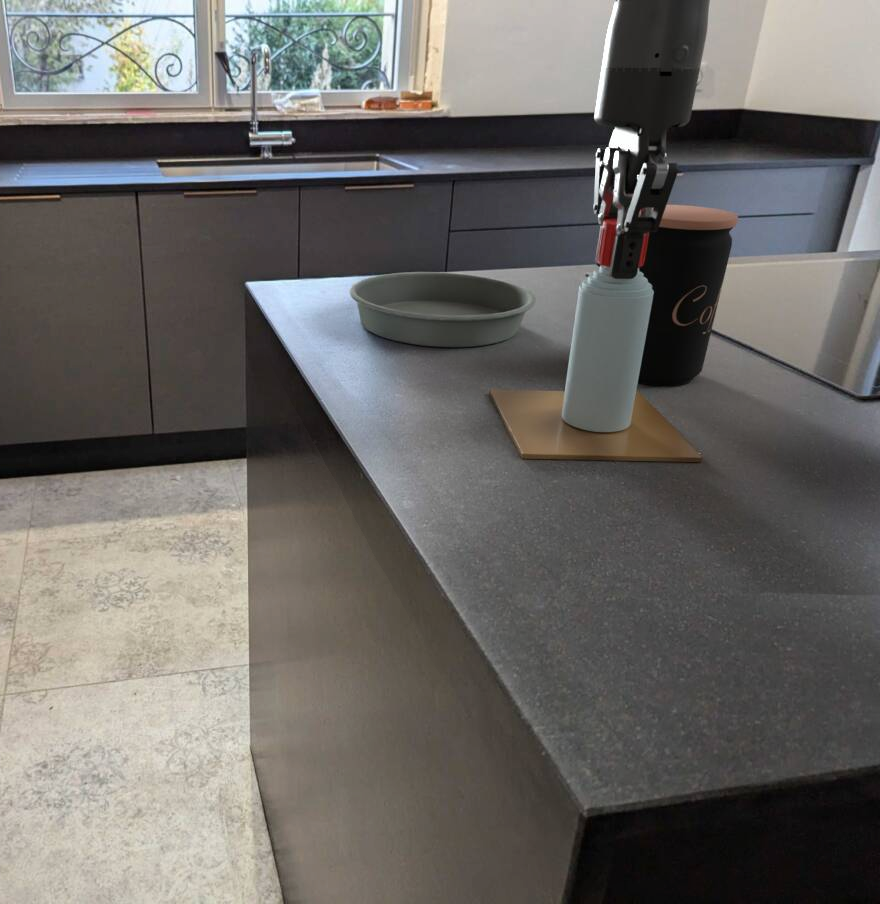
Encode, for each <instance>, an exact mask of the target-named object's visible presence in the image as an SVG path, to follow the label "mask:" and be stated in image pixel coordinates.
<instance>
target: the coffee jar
mask: <svg viewBox="0 0 880 904" xmlns="http://www.w3.org/2000/svg"><path fill="white" fill-rule="evenodd" d="M652 210H653V208H652ZM640 216H641V210H640V213H639V216H638V217H640ZM738 220H739V215H738V214H737V213H734V212H731V211H728V210H724V209H719V208H713V207H705V206H697V205H684V204H683V205H682V204H667V205H666V208H665V211H664V214H663V216H662V219H661V222H660V225H659V228H658V230H657V232H650V234H649V239H648V245H647V251H646V257H645V262H644V264H643V266H641V267H639V271H640V272H642V273H643V274H644V276H643V277H645V278H647V279H648V283H650V284H651V285H652V290H653V291H654V294H653V300H652V305H651V311H650V317H649V322H648V328H647V333H646V339H645V345H644V350H643V356H642V361H641V367H640V372H639V378H638V384H642V385H643V384H644V385H648V386H649V385H650V386H659V387H660V386H661V387H673V386H682V385H686V384H689V383H690V382H692V381H693V380H694V379H695V378H696V377H697V376H699V375H700V374H701V373H702V371H703V367H704V363H705V359H706V355H707V351H708V347H709V343H710V339H711V334H712V331H713V330H712V329H713V326H714V321H715V318H716V313H717V309H718V304H719V300H720V297H721V294H722V288H723V284H724V279H725V276H726V272H727V267H728V263H729V258H730V255H731V250H732V247H733V237H732V236H731V234H730V232H731V231H732V230H733V228H735V227H736V226H737V223H738Z"/></svg>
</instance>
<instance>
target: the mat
mask: <svg viewBox="0 0 880 904" xmlns="http://www.w3.org/2000/svg"><path fill="white" fill-rule="evenodd" d="M564 394H565V390H521V389H520V390H518V389H517V390H516V389H489V390H488V395H489V396H490V399H491V400H492V403H493V404H494V405H493V406H495V408H496V410H497V413H498V414H499V417H500V418H501V420H502V422H503V425H504V426H505V428H506V430H507V432H508V434H509V436H510V438H511V440H512V443H513V444H514V446H515V448H516V449H517V452H518V454H519V456H520V457H521V459H522V460H524V459H525V460H526V459H527V460H528V459H529V460H570V461H571V460H572V461H574V460H575V461H577V460H578V461H617V462H618V461H621V462H623V461H624V462H669V463H673V462H674V463H676V462H677V463H702V462H703V456H702V455H701V454H700V453H699V452H698V451H697V450H696V449H695V448H694V447H693V446H692V445H691V444H690V443H689V442H688V441H687V440H686V439H685V438H684V437H683V435H682V434H680V433H679V432H678V431H677V429H675V428H674V426H673V425H672V424H671V423H670V422H669V421H668V420H667V419H666V418H665V417H664V416H663V415H662V414H661V413H660V412H659V411H658V410H657V408H655V407H654V406H653V405H652V403H651V402H649V400H648V399H646V397H645V396H644V395H643V394H642V393H641V392H638V391H636V395H635V400H634V406H633V412H632V417H631V423H630V425H629V427H628V428H626V429H624V430H621V431H616V432H594V431H588V430H583V429H580V428H577V427H574V426H572V425H570V424H568V423H566V422H565V421H564V420H563V419H562V416H561V415H562V408H563V401H564Z"/></svg>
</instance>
